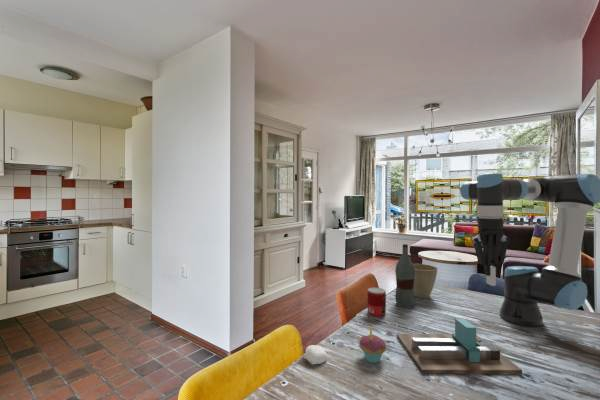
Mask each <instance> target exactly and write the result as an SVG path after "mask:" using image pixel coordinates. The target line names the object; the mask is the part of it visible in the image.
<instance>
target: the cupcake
mask: <svg viewBox="0 0 600 400" xmlns="http://www.w3.org/2000/svg"><path fill="white" fill-rule="evenodd" d="M372 329H373V327H372V325H371V324H369V335H365V336H363V337H362V338H360V339H359V348H360V349H361V351H362V352H363V354H364V358H365V360H366V361H368V362H369V363H374V364H376V363H379V362H380V361H381V358H382V356H383V354H384V353H385V352H386V350H387V345H386V342H385V341H384V340H383V339H382V338H381V337H379V336H378V335H375V334H373V330H372Z"/></svg>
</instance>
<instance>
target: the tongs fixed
mask: <svg viewBox="0 0 600 400" xmlns="http://www.w3.org/2000/svg"><path fill="white" fill-rule="evenodd" d="M476 347H478V348H479V349H480V360H500V353H501V350H500V349H498V348H497V347H496V346H495V345H494V344H492V343H490V342H489V341H488V340H487V339H483V338H481V339H476ZM419 357H420V358H421V359H422V360H469V350H468V349H466V348H465V347H464V346H419Z"/></svg>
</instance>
